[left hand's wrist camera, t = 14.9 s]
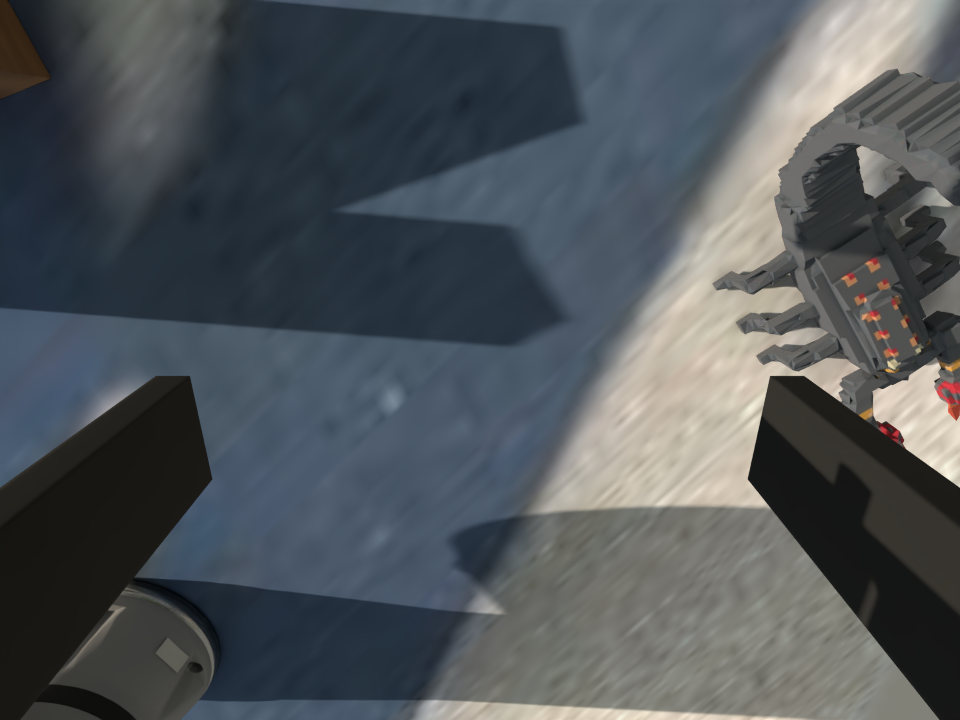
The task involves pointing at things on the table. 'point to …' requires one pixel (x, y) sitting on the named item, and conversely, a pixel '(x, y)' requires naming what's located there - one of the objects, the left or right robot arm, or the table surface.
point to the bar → (17, 55)
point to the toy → (868, 242)
